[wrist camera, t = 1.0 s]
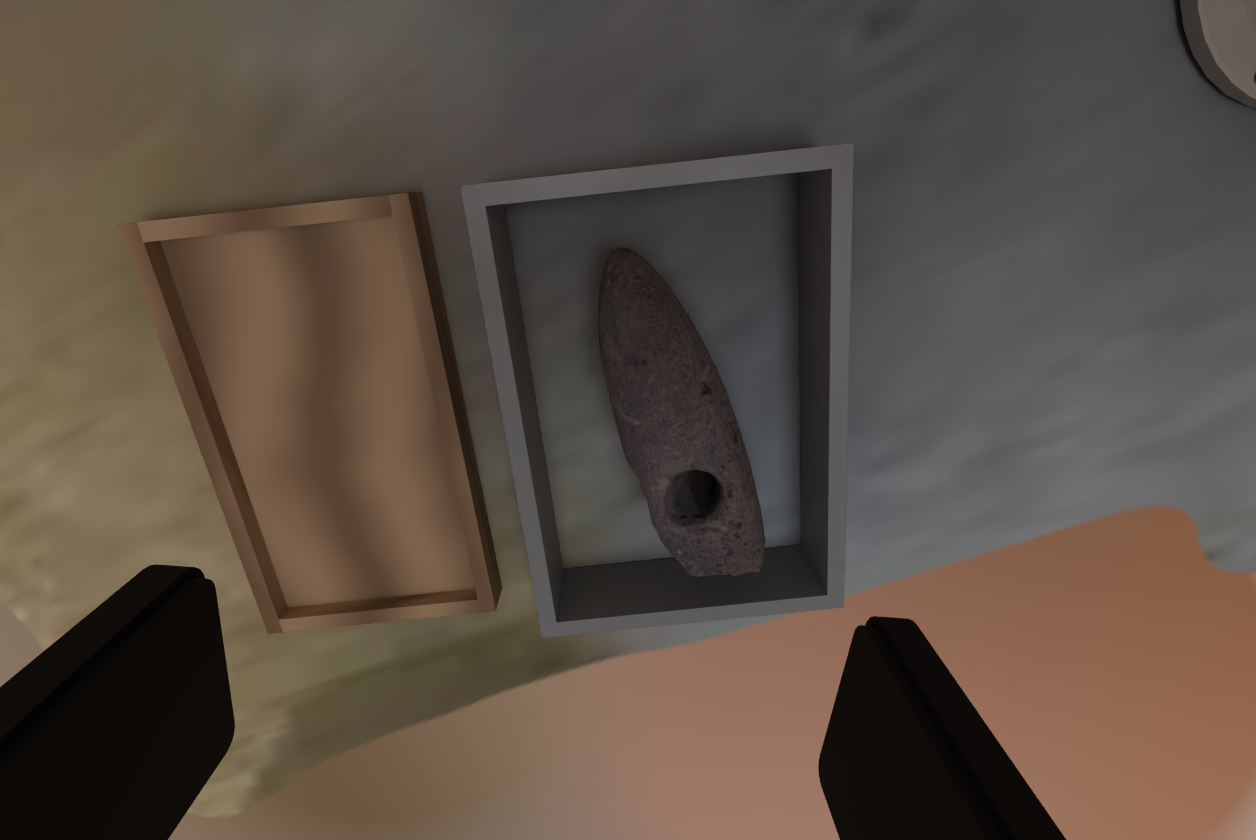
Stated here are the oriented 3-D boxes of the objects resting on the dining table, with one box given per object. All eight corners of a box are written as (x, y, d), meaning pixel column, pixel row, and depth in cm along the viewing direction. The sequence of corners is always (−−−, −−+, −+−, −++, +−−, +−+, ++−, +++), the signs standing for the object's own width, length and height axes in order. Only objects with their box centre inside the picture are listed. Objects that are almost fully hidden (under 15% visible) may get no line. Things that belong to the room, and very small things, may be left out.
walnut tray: (421, 192, 28) (407, 192, 26) (501, 587, 35) (495, 610, 33) (150, 221, 28) (117, 224, 26) (286, 609, 35) (268, 633, 33)
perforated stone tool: (566, 258, 29) (554, 280, 22) (677, 222, 29) (697, 234, 22) (659, 531, 34) (670, 613, 28) (754, 504, 34) (788, 581, 27)
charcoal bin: (816, 149, 27) (854, 142, 23) (815, 555, 35) (843, 607, 30) (482, 185, 28) (459, 185, 23) (550, 582, 35) (542, 637, 31)
